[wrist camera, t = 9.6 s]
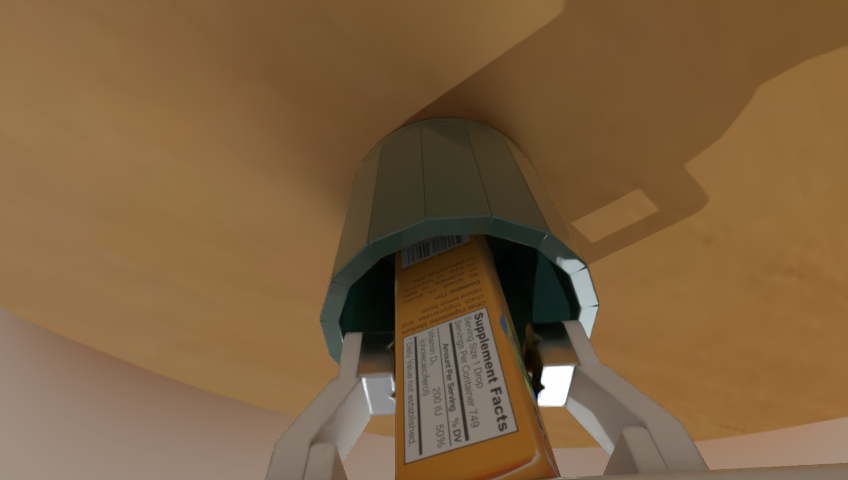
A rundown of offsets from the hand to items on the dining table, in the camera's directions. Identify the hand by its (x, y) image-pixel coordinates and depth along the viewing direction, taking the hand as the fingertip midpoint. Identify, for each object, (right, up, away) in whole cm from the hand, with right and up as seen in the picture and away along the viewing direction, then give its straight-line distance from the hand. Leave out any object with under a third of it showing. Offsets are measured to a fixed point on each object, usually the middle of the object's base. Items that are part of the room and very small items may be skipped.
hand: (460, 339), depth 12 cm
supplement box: (0, +3, +4) cm, 5 cm away
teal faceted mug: (+1, +4, +7) cm, 8 cm away
